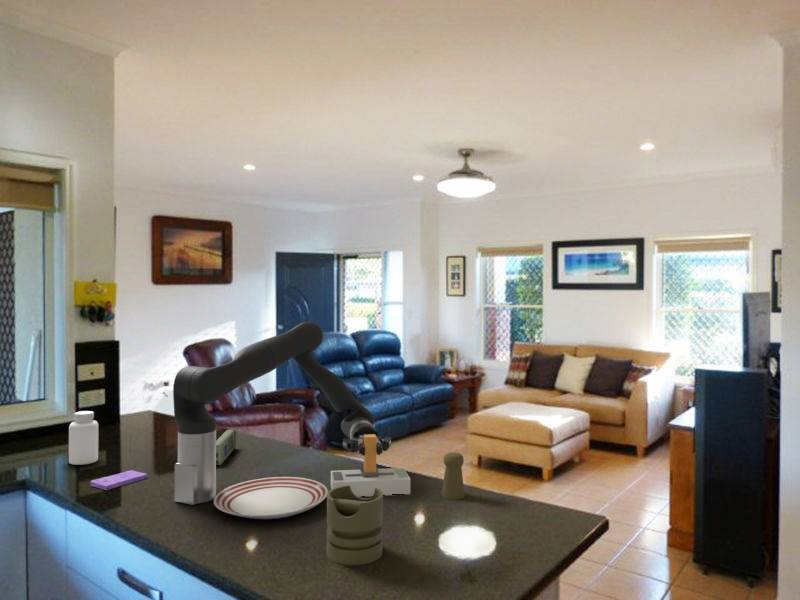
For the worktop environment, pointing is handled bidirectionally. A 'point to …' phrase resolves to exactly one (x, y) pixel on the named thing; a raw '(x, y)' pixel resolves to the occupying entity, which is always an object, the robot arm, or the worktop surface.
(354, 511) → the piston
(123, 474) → the sponges
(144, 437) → the worktop surface
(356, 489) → the box
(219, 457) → the handheld radio
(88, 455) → the pill bottle
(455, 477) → the olive pawn figure
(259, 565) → the worktop surface
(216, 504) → the dinner plate
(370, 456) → the handle
